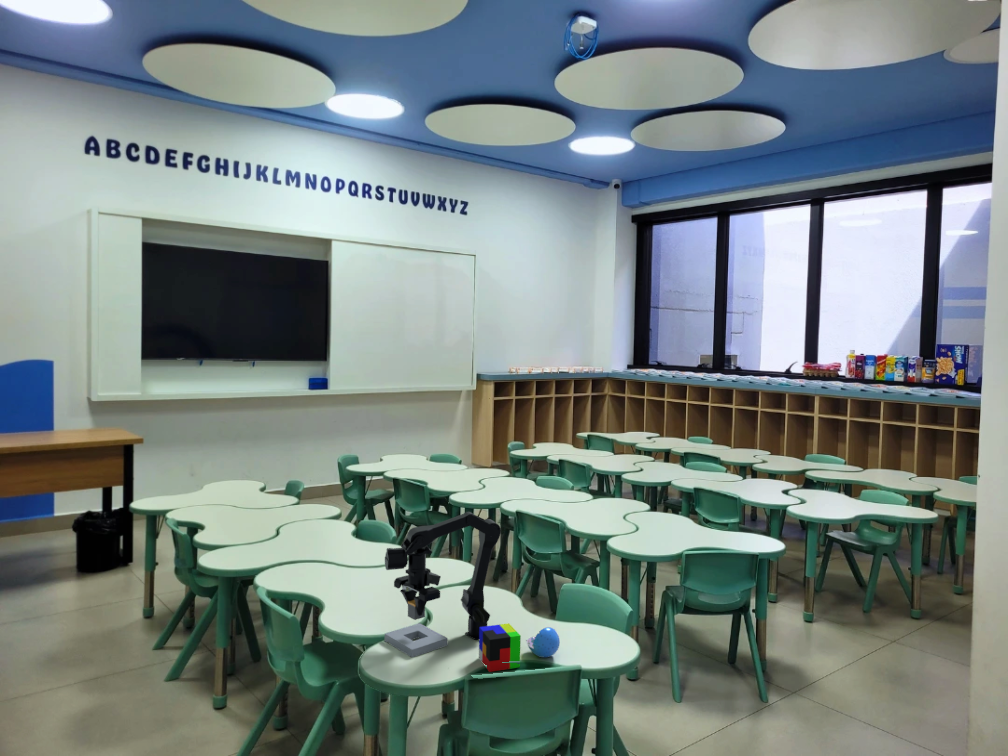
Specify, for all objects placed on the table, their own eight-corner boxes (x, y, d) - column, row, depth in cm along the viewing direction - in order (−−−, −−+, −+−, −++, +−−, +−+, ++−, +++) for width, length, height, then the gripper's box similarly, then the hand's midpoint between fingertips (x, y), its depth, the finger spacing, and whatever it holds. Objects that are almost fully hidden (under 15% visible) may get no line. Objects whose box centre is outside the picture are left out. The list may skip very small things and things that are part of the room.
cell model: (543, 645, 233) (544, 616, 232) (566, 659, 222) (566, 629, 222) (518, 651, 227) (519, 622, 227) (540, 666, 217) (541, 635, 217)
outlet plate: (447, 645, 231) (447, 638, 231) (411, 657, 221) (412, 649, 221) (419, 630, 243) (419, 623, 242) (384, 640, 233) (384, 633, 233)
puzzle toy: (478, 658, 222) (479, 627, 222) (508, 653, 226) (508, 623, 225) (489, 672, 213) (490, 639, 212) (519, 667, 216) (520, 635, 216)
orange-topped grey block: (424, 617, 231) (425, 602, 231) (414, 620, 229) (414, 604, 228) (417, 613, 234) (418, 598, 234) (407, 616, 232) (408, 601, 231)
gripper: (453, 569, 229) (453, 616, 230) (420, 555, 243) (420, 600, 244) (425, 576, 222) (425, 624, 222) (393, 561, 236) (392, 607, 236)
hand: (416, 613), depth 231 cm, fingers closed on orange-topped grey block, 4 cm apart
